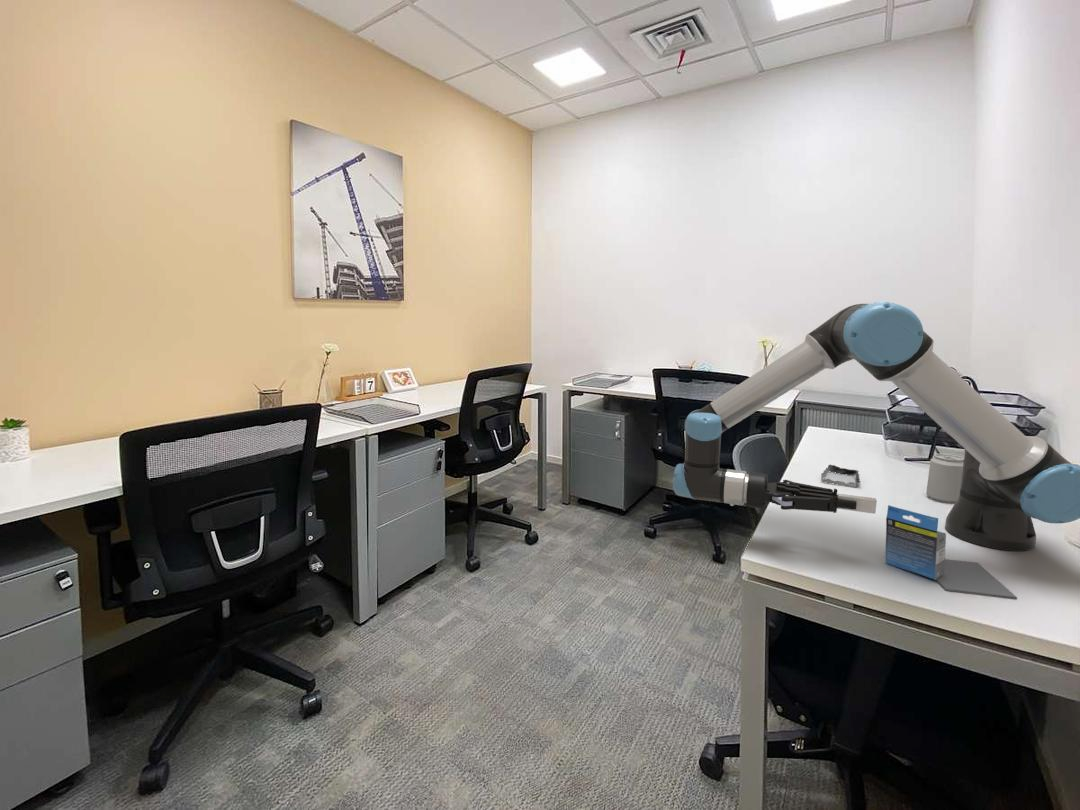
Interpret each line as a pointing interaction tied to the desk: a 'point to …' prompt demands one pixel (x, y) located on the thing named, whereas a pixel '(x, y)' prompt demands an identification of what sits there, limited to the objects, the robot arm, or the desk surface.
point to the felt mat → (971, 580)
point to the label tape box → (914, 543)
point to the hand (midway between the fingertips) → (875, 506)
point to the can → (945, 478)
